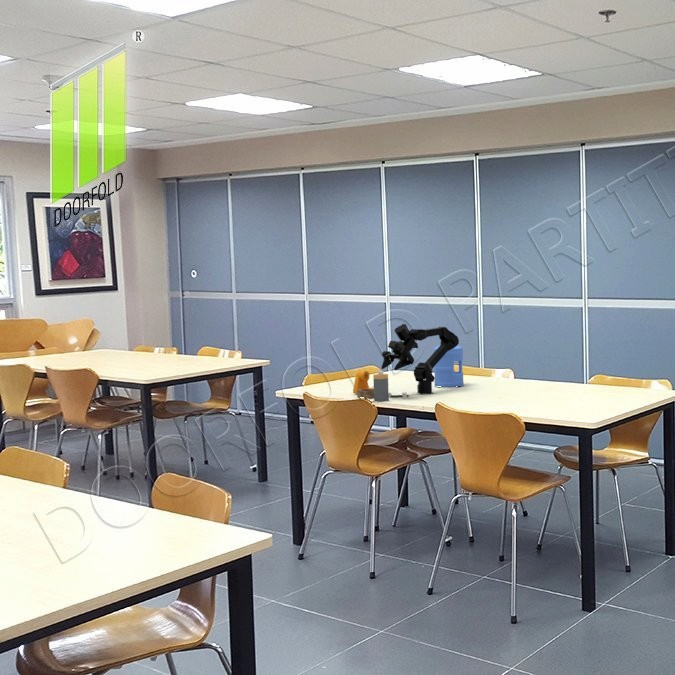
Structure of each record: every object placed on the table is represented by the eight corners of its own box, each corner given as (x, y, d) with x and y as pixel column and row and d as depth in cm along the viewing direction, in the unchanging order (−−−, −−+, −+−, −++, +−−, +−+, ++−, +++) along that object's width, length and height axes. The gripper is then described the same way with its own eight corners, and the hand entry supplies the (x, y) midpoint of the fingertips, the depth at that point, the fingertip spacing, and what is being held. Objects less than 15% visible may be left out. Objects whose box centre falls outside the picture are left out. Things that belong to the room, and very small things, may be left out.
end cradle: (376, 395, 466) (376, 388, 466) (381, 398, 456) (380, 390, 456) (357, 396, 464) (357, 389, 464) (361, 399, 455) (361, 391, 454)
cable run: (408, 396, 459) (408, 394, 459) (408, 397, 457) (408, 395, 457) (379, 397, 461) (379, 395, 461) (379, 397, 459) (379, 395, 459)
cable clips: (406, 396, 460) (406, 392, 460) (406, 397, 457) (406, 393, 457) (386, 396, 461) (386, 392, 461) (386, 397, 457) (386, 393, 457)
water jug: (433, 388, 491) (432, 335, 489) (435, 384, 506) (434, 333, 504) (463, 387, 488) (462, 335, 486) (464, 384, 504) (462, 333, 502)
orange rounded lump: (364, 395, 469) (363, 372, 468) (353, 395, 473) (352, 371, 473) (377, 393, 477) (376, 370, 476) (365, 392, 482) (365, 369, 481)
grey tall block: (381, 400, 450) (380, 370, 449) (388, 400, 446) (387, 371, 445) (374, 401, 446) (373, 371, 445) (381, 402, 442) (380, 372, 442)
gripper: (385, 335, 463) (367, 356, 456) (411, 336, 449) (393, 357, 442) (395, 351, 468) (378, 372, 461) (421, 353, 454) (404, 374, 447)
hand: (388, 369), depth 452 cm, fingers open, 9 cm apart
